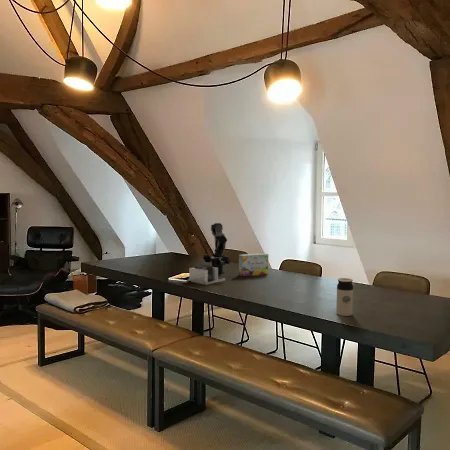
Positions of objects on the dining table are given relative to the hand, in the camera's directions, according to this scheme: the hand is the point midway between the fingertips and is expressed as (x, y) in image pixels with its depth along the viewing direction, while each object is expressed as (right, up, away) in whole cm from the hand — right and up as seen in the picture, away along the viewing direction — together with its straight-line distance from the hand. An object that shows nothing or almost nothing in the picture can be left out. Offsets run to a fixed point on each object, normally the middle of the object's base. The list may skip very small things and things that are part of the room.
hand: (212, 269), depth 337 cm
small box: (-6, -8, -4) cm, 11 cm away
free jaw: (-2, -7, 0) cm, 8 cm away
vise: (-4, -8, -2) cm, 9 cm away
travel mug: (+69, -16, -83) cm, 109 cm away
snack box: (+29, -6, +21) cm, 36 cm away
